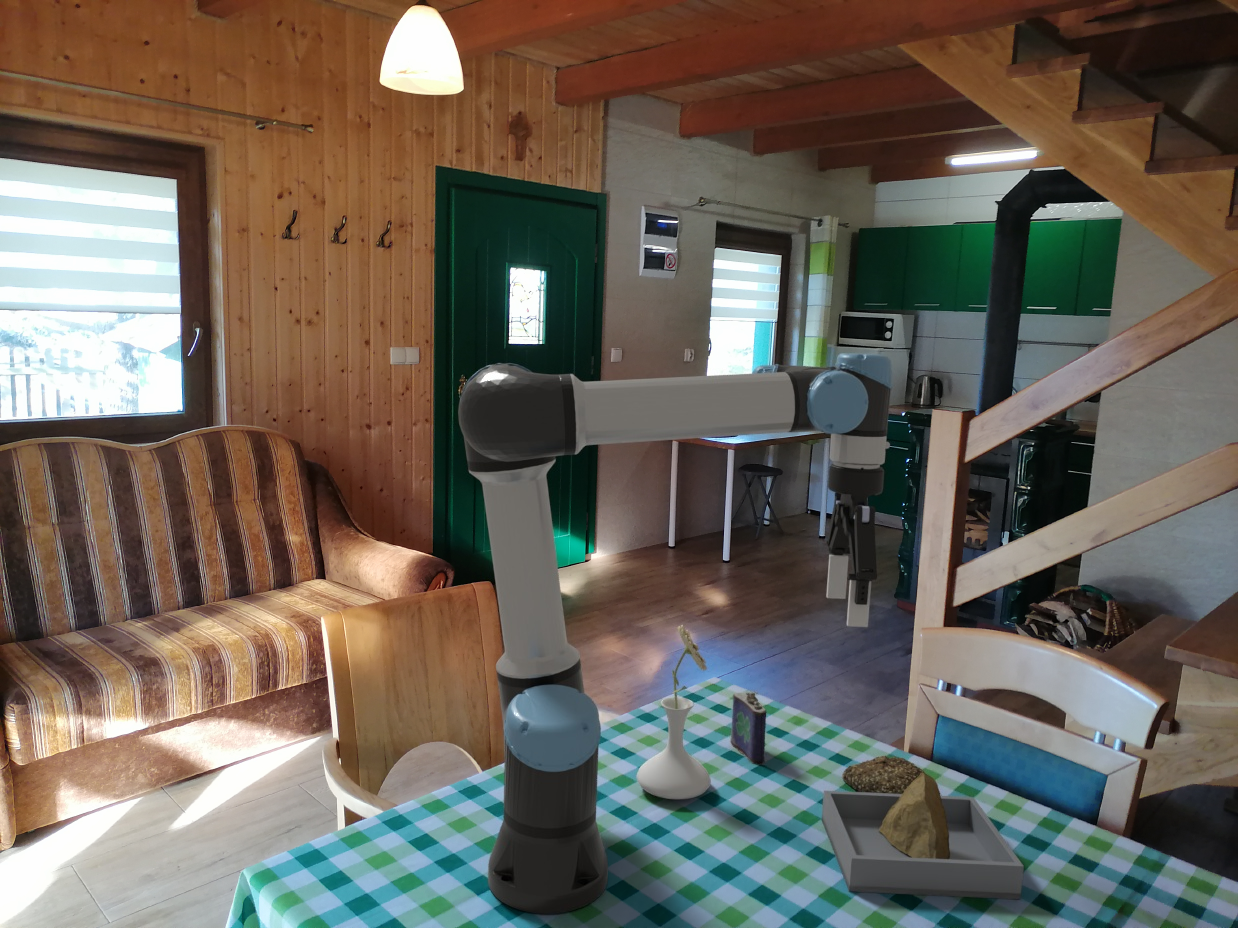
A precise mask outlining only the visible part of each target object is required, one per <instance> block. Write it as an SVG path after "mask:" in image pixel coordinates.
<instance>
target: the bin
mask: <svg viewBox="0 0 1238 928" xmlns="http://www.w3.org/2000/svg"><path fill="white" fill-rule="evenodd" d="M901 795H902V794H889V793H867V792H859V791H844V790H843V791H842V790H841V791H840V790H823V797H822V810H821V821H822V824H823V827H824V829H825V832H826V835H827V839H828V840H829V843H830V845H831V848H832V850H833V852H834V855H835V858H836V861H837V864H838V865H839V869H840V871H841V874H842V876H843V879H844V882H845V884H846V887H847V890H848V892H851V893H852V892H853V893H855V892H856V893H872V894H873V893H875V894H876V893H877V894H878V893H879V894H898V895H918V896H938V897H939V896H940V897H960V898H961V897H962V898H963V897H964V898H980V899H981V898H985V899H1005V900H1006V899H1007V900H1021V895H1022V887H1023V886H1022V885H1023V878H1024V868H1025V866H1024V865H1023V863H1022V862H1021V860H1020V859H1019V858H1018V856H1017V855H1016V854H1015V852H1014V851H1013V850H1012V848H1011V846H1010V845H1009V844H1008V842H1007V841H1006V839H1004V837H1003V836H1002V834H1001V833H1000V832H999V830H998V829H997V827H996V826H995V824H994V823H993V821H992V820H991V819H990V818H989V817H988V815H987V814H986V812H985V811H984V810H983V808H982V807H981V805H980V804H979V803H978V801H977V800H976V799H975V797H973V796H955V795H954V796H953V795H951V796H950V795H940V796H941V800H942V804H943V806H944V809H945V813H946V819H947V827H948V831H949V849H950V858H949V859H930V858H912V857H911V856H909V855H907V854H905V853H903V852H902V851H900V850H898V849H897V848H896V847H894V846H893V845H891V844H890V842H889V841H888V840H887V838H886V837H885V836H884V835H883V834H882V833H880V832H879V829H880V827H881V826H882V823H883V820H884V818H885V817H886V815H887V813H888V811H889V810H890V809H891V807H892V806H893V805H895V804H896V802H897V801H898V800H899V798H900V796H901Z"/></svg>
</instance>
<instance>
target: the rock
mask: <svg viewBox="0 0 1238 928" xmlns="http://www.w3.org/2000/svg"><path fill="white" fill-rule="evenodd" d="M938 785H939V784H938V783H937V781H936V780H935V778H934V777H932V776H930V775H929V774H928V773H926V772H925V773H921V774H920V775H919V776H918V777H917V778H916V779H915V780H914V781H913V782H912V783H911V784H910V785H909V786H908V787H907V788H906V789H905V791H904V793H903V794H902V795H901V796H900V798H899V800H898V801H897V802H896V804H895V805H893V806H892V807H891V809H890V810H889V811H888V813H887V815H886V817H885V818H884V820H883V823H882V826H881V827H880V829H879V832H880V833H882V834H883V835H884V836H885V837H886V838H887V840H888V841H889V842H890V844H891V845H893V846H894V847H896V848H897V849H898V850H900V851H902V852H903V853H905V854H907V855H909V856H911V857H912V858H930V859H949V858H950V849H949V831H948V827H947V819H946V813H945V809H944V806H943V804H942V800H941V796H942V795H941V793H940V790H939V786H938Z"/></svg>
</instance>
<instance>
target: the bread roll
mask: <svg viewBox="0 0 1238 928" xmlns="http://www.w3.org/2000/svg"><path fill="white" fill-rule="evenodd" d="M921 773H926V772H925V771H924V770H923V768H921V767H919V766H917V765H916V764H914V763H913V762H911V761H909V760H906V759H905V758H904V757H896V756H891V757H888V756H887V755H882V756H876V757H874V758H873V759H870V760H869V759H867V760H866V761H862V762H860V763H857V764H851V765H849V766H847V767H846V769H845V770H843V773H842V779H843V781H844V782H845V783H846V784H847V785H848V786H850V787H851V788H852V789H854V790H855V791H856V792H867V793H889V794H903V793H904V791H905V789H906V788H907V787H908V786H909V785H910V784H911V783H912V782H913V781H914V780H915V779H916V778H917V777H918V776H919V775H920V774H921Z"/></svg>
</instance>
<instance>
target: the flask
mask: <svg viewBox="0 0 1238 928" xmlns="http://www.w3.org/2000/svg"><path fill="white" fill-rule="evenodd" d="M732 694H733V695H732V698H733V699H732V714H731V715H732V717H731V720H732V721H731V729H730V730H731V731H730V744H731V745H732V747H733V748H735V749H736V750H737V752H739V753H740V754H742V755H744V757H745V758H747V760H748V761H750V763H751V764H755V765H763V764H765V751H766V750H765V749H766V728H767V727H766V725H767V720H766V719H767V710H766V709H765V708H764V706H763V704H761V703H760V702H759V699H758V698H757V697H756V695H757V694H759V693H758V691H755V690H754V691H745V693H743V692H735V693H732Z"/></svg>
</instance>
